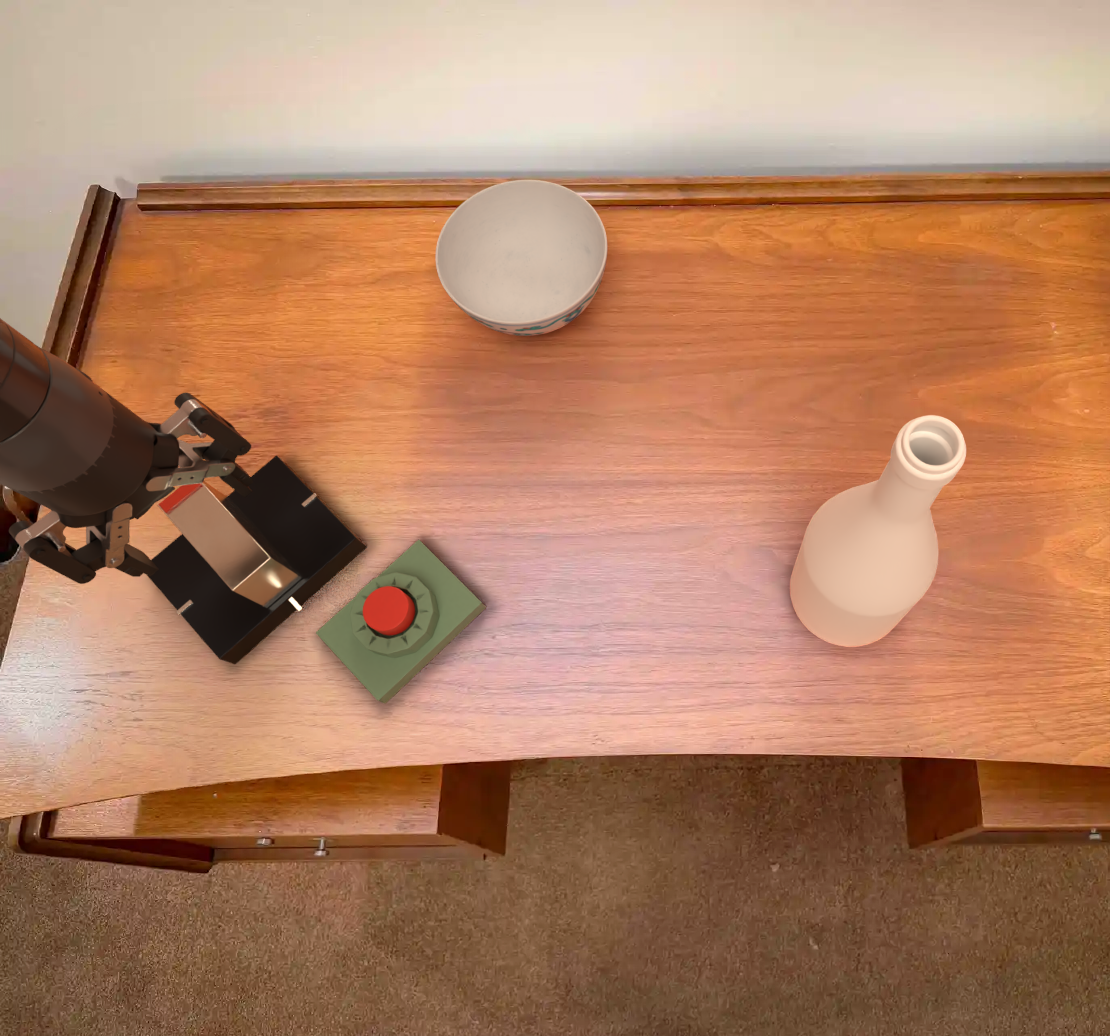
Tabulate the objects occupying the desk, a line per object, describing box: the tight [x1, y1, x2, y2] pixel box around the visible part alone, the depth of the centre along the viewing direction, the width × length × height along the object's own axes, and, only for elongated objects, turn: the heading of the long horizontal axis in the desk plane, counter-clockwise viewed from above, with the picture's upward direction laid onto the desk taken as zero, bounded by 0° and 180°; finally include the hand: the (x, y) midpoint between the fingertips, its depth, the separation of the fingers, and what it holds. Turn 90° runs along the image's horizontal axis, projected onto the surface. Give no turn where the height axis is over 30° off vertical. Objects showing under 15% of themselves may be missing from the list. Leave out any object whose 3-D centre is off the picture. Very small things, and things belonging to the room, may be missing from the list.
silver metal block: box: [157, 480, 302, 608], centre depth 69 cm, size 10×4×6 cm, turn 46°
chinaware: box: [435, 179, 608, 337], centre depth 79 cm, size 15×15×8 cm
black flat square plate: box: [146, 455, 368, 665], centre depth 73 cm, size 14×14×3 cm
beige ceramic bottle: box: [789, 414, 967, 648], centre depth 58 cm, size 10×10×30 cm
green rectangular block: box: [315, 539, 487, 705], centre depth 71 cm, size 11×8×4 cm
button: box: [363, 586, 415, 635], centre depth 69 cm, size 4×4×2 cm
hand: (196, 525), depth 65 cm, fingers open, 8 cm apart
